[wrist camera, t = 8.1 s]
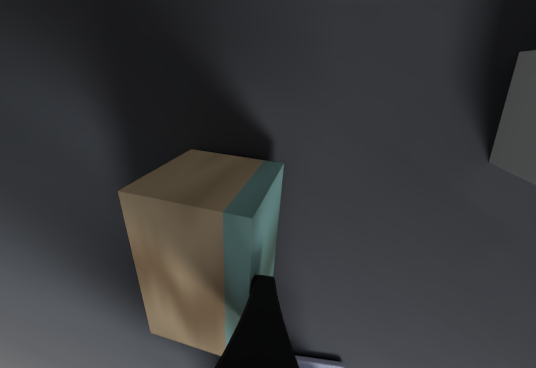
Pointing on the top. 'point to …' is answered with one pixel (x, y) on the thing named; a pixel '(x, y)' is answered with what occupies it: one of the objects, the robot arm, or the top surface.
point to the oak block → (202, 242)
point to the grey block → (519, 122)
